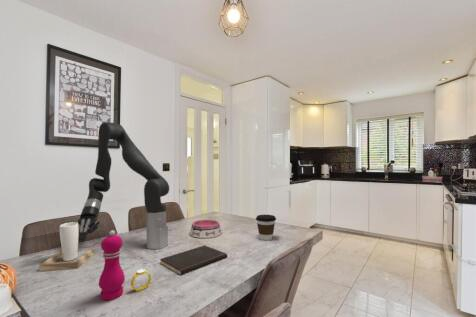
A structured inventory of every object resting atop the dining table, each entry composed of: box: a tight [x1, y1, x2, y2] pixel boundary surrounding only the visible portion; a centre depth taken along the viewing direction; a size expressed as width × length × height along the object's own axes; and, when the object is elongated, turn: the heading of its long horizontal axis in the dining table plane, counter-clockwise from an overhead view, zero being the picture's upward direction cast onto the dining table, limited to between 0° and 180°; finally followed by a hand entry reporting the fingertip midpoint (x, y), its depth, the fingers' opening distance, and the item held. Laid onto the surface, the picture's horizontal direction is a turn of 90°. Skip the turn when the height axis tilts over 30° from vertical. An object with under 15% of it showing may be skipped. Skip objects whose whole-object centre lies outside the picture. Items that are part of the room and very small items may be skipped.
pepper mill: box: [98, 229, 126, 301], centre depth 76 cm, size 7×7×20 cm
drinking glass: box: [58, 221, 80, 262], centre depth 105 cm, size 7×7×15 cm
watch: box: [130, 268, 152, 292], centre depth 80 cm, size 6×3×6 cm, turn 130°
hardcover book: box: [159, 245, 228, 276], centre depth 103 cm, size 16×23×2 cm
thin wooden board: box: [38, 247, 96, 272], centre depth 103 cm, size 17×13×2 cm
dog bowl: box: [189, 219, 223, 240], centre depth 142 cm, size 18×19×7 cm
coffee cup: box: [255, 214, 277, 242], centre depth 131 cm, size 11×11×12 cm
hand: (80, 241), depth 114 cm, fingers closed
